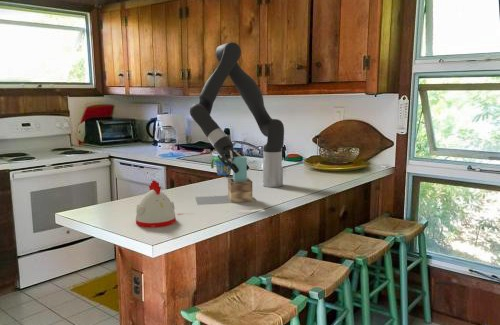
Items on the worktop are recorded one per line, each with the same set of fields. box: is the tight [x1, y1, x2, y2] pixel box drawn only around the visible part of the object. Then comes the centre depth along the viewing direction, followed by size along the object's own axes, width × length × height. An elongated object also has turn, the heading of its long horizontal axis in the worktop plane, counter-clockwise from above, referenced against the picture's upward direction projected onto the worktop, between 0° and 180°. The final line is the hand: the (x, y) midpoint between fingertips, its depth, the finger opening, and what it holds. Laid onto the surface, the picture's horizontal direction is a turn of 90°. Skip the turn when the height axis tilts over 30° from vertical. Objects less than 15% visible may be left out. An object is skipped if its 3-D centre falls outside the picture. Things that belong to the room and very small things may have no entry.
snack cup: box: [210, 156, 232, 177], centre depth 248 cm, size 16×10×10 cm
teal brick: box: [232, 155, 248, 182], centre depth 183 cm, size 5×5×10 cm
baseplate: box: [194, 195, 256, 206], centre depth 185 cm, size 24×14×1 cm, turn 101°
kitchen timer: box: [135, 179, 177, 229], centre depth 154 cm, size 14×14×15 cm
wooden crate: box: [227, 177, 254, 203], centre depth 184 cm, size 9×9×8 cm
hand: (242, 170), depth 182 cm, fingers closed on teal brick, 7 cm apart
